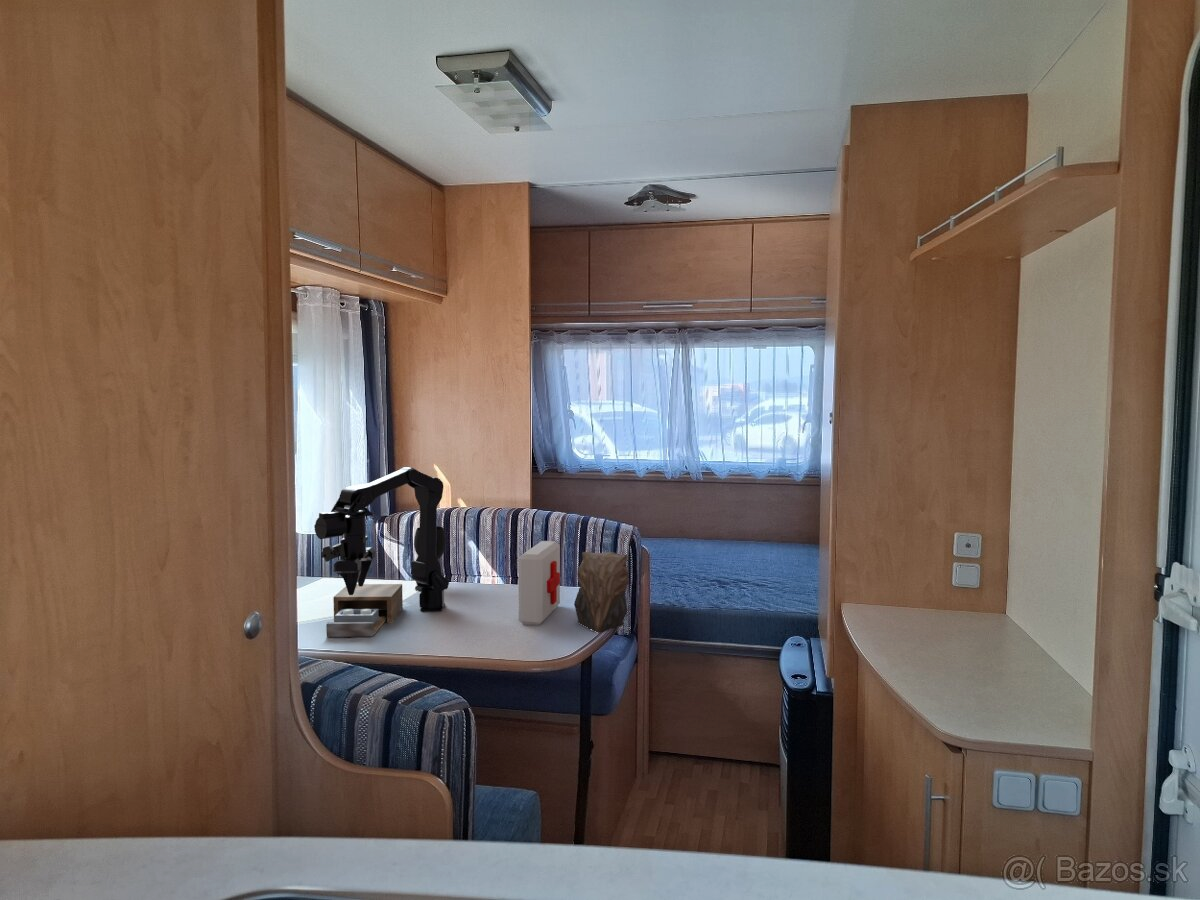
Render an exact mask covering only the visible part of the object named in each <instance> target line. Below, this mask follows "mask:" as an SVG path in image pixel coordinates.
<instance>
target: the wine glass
mask: <svg viewBox="0 0 1200 900" xmlns="http://www.w3.org/2000/svg"><path fill="white" fill-rule="evenodd" d="M419 529H420V526H419V527H417V528H416V530H415V533H414V538H413V539H414V540H413V548H414V551H415V553H416V555H417V557H418V556H419ZM446 549H447V536H446V532H445V529H444V527H443V526H439V525H438V526H436V556H437V558H438V560H439V559H440V558H442V556H443V555H444V553H445V551H446ZM414 589H416V590H415V591H417V590H418V591H417V592H421V589H422V588H421V587H418V586H417V585H416V586H415V587H414Z"/></svg>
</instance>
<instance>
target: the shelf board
mask: <svg viewBox="0 0 1200 900" xmlns="http://www.w3.org/2000/svg"><path fill="white" fill-rule="evenodd" d="M386 621H387V616H379V621H378V623H377V624H376V625H375V626H374V622H334V621H331V622H327V623H326V625H325V627H326V629H325V631H326V637H329V638H331V637H332V638H335V637H336V638H337V637H338V638H339V637H340V638H343V637H345V638H346V637H349V638H350V637H353V638H354V637H373V636H374V635H375V634H376V633H377V632H378V631H379V629H380V628H381V627H382V625H383V624H384V623H385V622H386Z"/></svg>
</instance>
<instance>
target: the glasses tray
mask: <svg viewBox="0 0 1200 900" xmlns="http://www.w3.org/2000/svg"><path fill="white" fill-rule="evenodd" d="M379 617H380V616H379V610H378V609H342V610H340V611H339V612H338V613H337V614H336V615H335V622H374V626H375V625H376V624H377V623H378V621H379Z"/></svg>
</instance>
